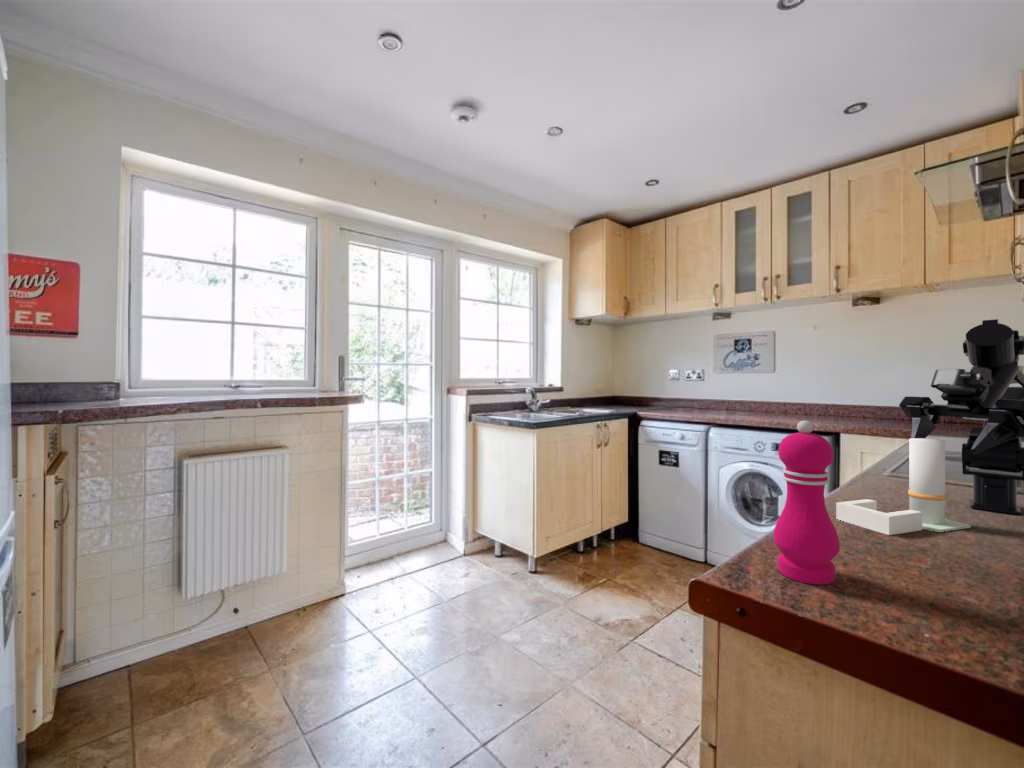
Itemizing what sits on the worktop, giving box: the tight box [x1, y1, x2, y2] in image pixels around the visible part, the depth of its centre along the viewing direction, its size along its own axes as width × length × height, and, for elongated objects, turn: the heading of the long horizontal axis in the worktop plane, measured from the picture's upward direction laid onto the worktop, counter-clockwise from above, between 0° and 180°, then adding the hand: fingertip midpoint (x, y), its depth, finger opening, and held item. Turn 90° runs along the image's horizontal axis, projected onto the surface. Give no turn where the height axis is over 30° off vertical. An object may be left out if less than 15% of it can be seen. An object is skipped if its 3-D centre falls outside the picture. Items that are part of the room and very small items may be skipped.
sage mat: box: [922, 518, 972, 533], centre depth 79 cm, size 8×8×1 cm
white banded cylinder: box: [907, 437, 947, 525], centre depth 79 cm, size 5×5×14 cm
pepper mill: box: [773, 420, 841, 586], centre depth 59 cm, size 7×7×20 cm
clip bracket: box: [835, 498, 923, 536], centre depth 79 cm, size 8×9×3 cm
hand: (941, 447), depth 81 cm, fingers open, 9 cm apart
